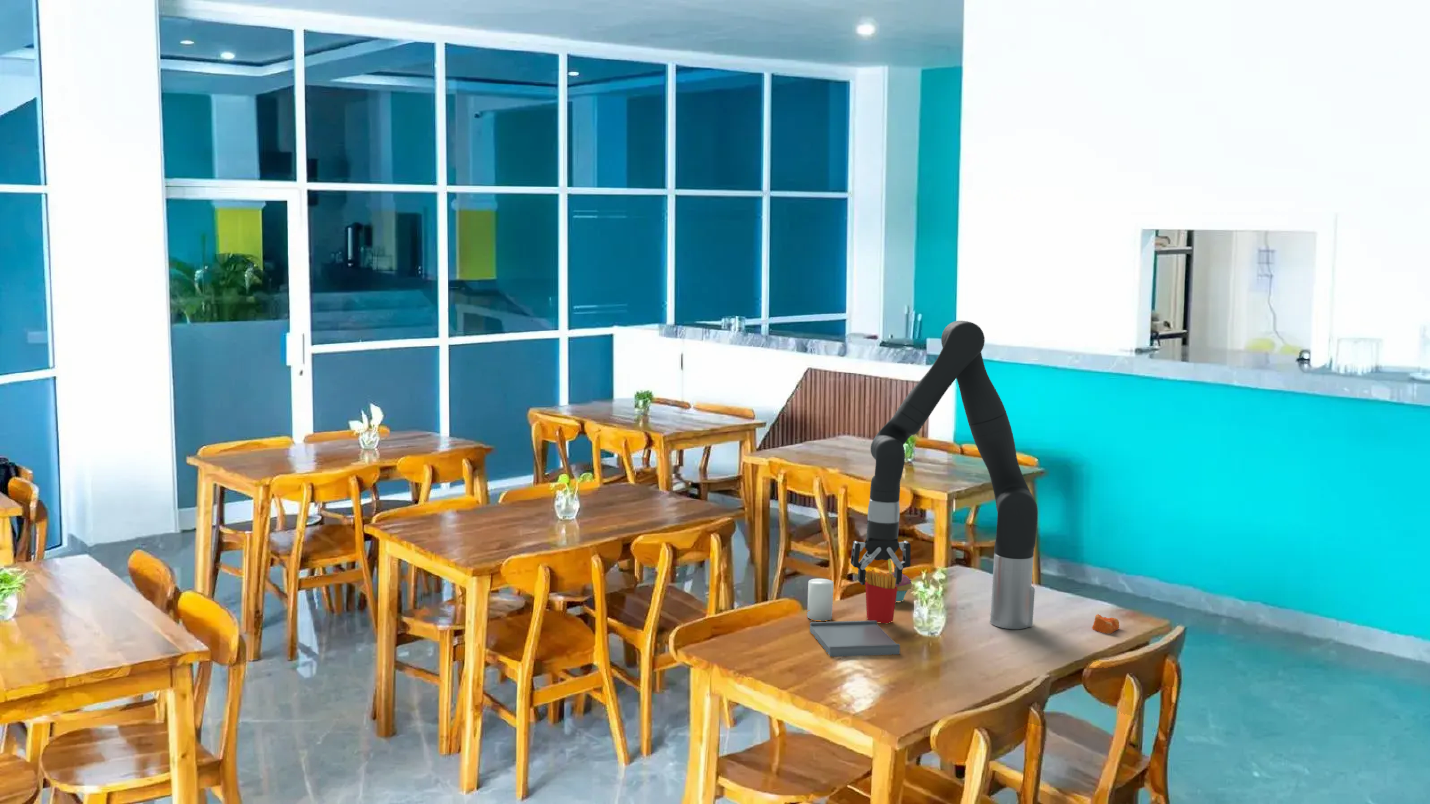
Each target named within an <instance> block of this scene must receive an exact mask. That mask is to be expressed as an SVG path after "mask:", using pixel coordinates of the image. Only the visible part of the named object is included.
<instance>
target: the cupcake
mask: <svg viewBox="0 0 1430 804" xmlns="http://www.w3.org/2000/svg"><path fill="white" fill-rule="evenodd" d="M891 561H892V560H891V559H888V560H887V565H888V571H889V572H887V573H886V572H885V573H886V574H888V573H890V574H892V575H893V576H894V572H893V570H892V563H891ZM912 585H913V583H912V579H910V578H909V577H908V576H907V575H906V574H903V573H902V580H901V582H899V584H895V586H896V587H897V595H896V601H902V600H903V601H904V599H905V596H906V594H907V592H908V590H909V591H910V590H911V589H912ZM903 601H902V602H903Z"/></svg>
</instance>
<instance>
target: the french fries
mask: <svg viewBox="0 0 1430 804" xmlns="http://www.w3.org/2000/svg"><path fill="white" fill-rule="evenodd" d="M887 573H888V574H886V572H883V571H878V572H876V571H875V570H874V569H871V570H866V577H865V580H866V581H865V605H866V606H865V609H866V619H867V618H868V619H867V621H870V620H876V621H877V622H881V623H880V624H882V623H889V622H891V621H893V622H894V615H895V607H896V603H895V602H896V595H897V587H896V586H895V583H896V578H895V577H894V576H893V575H892V574H890V573H889V572H887Z"/></svg>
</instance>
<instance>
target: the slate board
mask: <svg viewBox="0 0 1430 804" xmlns="http://www.w3.org/2000/svg"><path fill="white" fill-rule="evenodd" d="M809 632H810V634H811V635H812V634H813V635H814V636H815V637H814V636H813V635H812V636H813V637H814V639H815V640H816V639H817V640H818V641H817V640H816V641H817V642H818V643H819V644H821V645H822V646H823V647H822V646H821V645H820V646H821V647H822V648H823V649H825V650H826V651H825V650H824V651H825V652H826V653H827V652H828V653H827V654H829V655H830V656H829V655H828V656H829V657H831V656H832V657H857V656H858V657H860V656H863V657H865V656H883V655H884V656H887V655H888V656H890V655H891V656H892V654H893V655H900V651H901V644H900V643H896V642H895V641H894V639H892V637H890V636H889V635H888V633H886V632H885V631H884V630H883V629H882V627H881V626H880V625H879V624H878V623H877V621H876V620H846V621H845V620H841V621H826V622H816V621H811V622H809ZM832 657H831V658H832Z"/></svg>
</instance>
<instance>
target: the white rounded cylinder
mask: <svg viewBox="0 0 1430 804" xmlns="http://www.w3.org/2000/svg"><path fill="white" fill-rule="evenodd" d="M807 584H808V585H807V586H808V587H807V588H808V589H807V607H806V608H807V611H808V610H810V611H808V612H806V614H807V615H806V618H807V617H808V618H810V619H813V620H821V621H825V620H830V621H832V620H833V604H834V603H833V601H834V581H833V580H831V579H827V578H812V579H809V580H808V582H807ZM808 618H807V619H808ZM831 619H832V620H831Z"/></svg>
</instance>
